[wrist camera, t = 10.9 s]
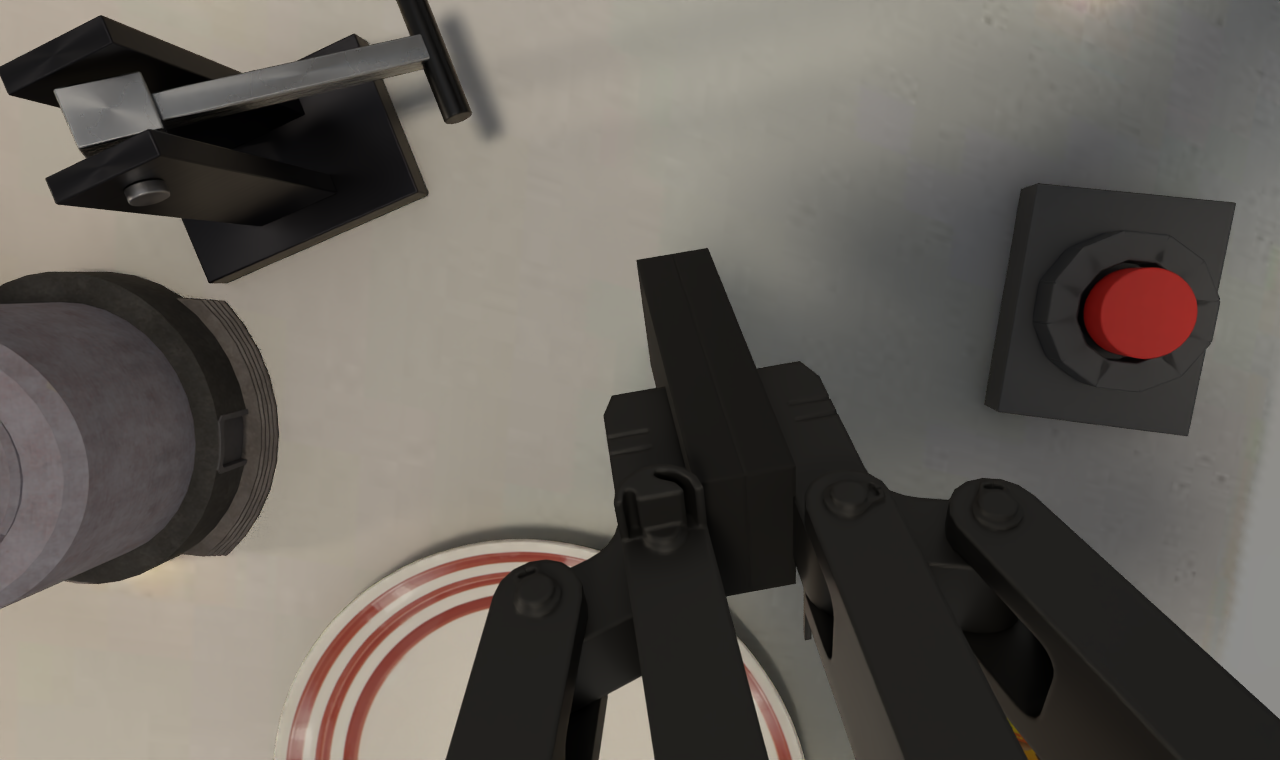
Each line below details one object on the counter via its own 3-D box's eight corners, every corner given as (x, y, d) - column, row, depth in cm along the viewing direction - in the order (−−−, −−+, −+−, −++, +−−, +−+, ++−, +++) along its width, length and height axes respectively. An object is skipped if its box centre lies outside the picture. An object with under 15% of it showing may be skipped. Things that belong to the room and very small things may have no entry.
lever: (414, -8, 36) (421, -39, 33) (467, 125, 36) (477, 103, 34) (49, 64, 31) (28, 35, 28) (115, 218, 31) (100, 201, 29)
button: (1091, 263, 34) (1109, 262, 33) (1183, 273, 34) (1206, 272, 32) (1075, 349, 35) (1092, 353, 33) (1166, 360, 34) (1188, 364, 33)
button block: (1020, 188, 38) (1052, 177, 34) (1207, 207, 37) (1262, 198, 33) (983, 404, 39) (1010, 418, 35) (1163, 427, 38) (1211, 444, 34)
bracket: (367, 40, 41) (177, -79, 27) (429, 195, 41) (273, 153, 28) (163, 137, 43) (-109, 71, 29) (225, 283, 43) (-15, 285, 30)
